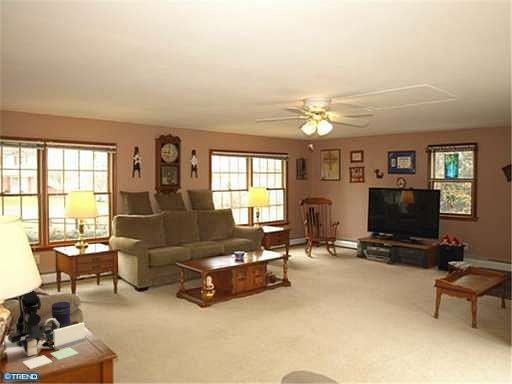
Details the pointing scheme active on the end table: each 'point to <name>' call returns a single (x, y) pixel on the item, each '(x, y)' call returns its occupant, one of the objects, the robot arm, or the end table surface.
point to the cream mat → (37, 362)
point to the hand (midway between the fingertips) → (30, 350)
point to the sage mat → (64, 353)
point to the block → (31, 346)
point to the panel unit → (69, 335)
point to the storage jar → (61, 314)
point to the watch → (55, 329)
